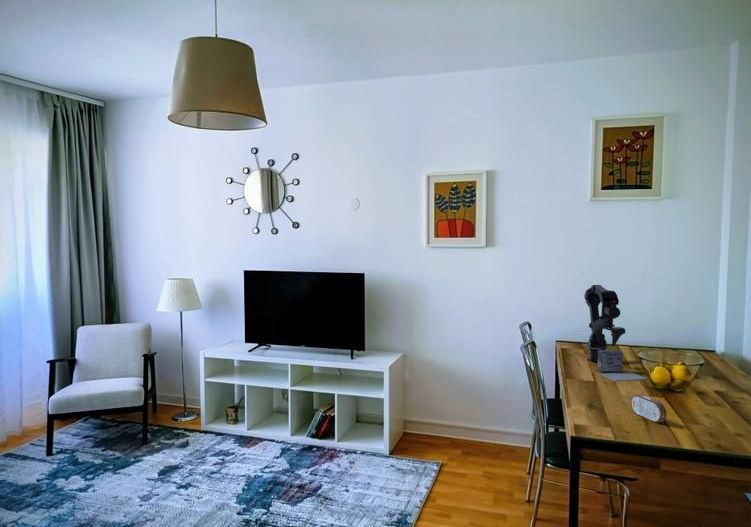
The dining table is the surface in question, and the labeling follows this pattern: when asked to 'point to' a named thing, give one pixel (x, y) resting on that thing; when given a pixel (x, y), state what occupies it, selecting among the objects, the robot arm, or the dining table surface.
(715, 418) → the dining table surface
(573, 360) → the dining table surface
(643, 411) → the tin
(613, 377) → the mat
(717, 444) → the dining table surface
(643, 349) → the dining table surface
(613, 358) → the small box
